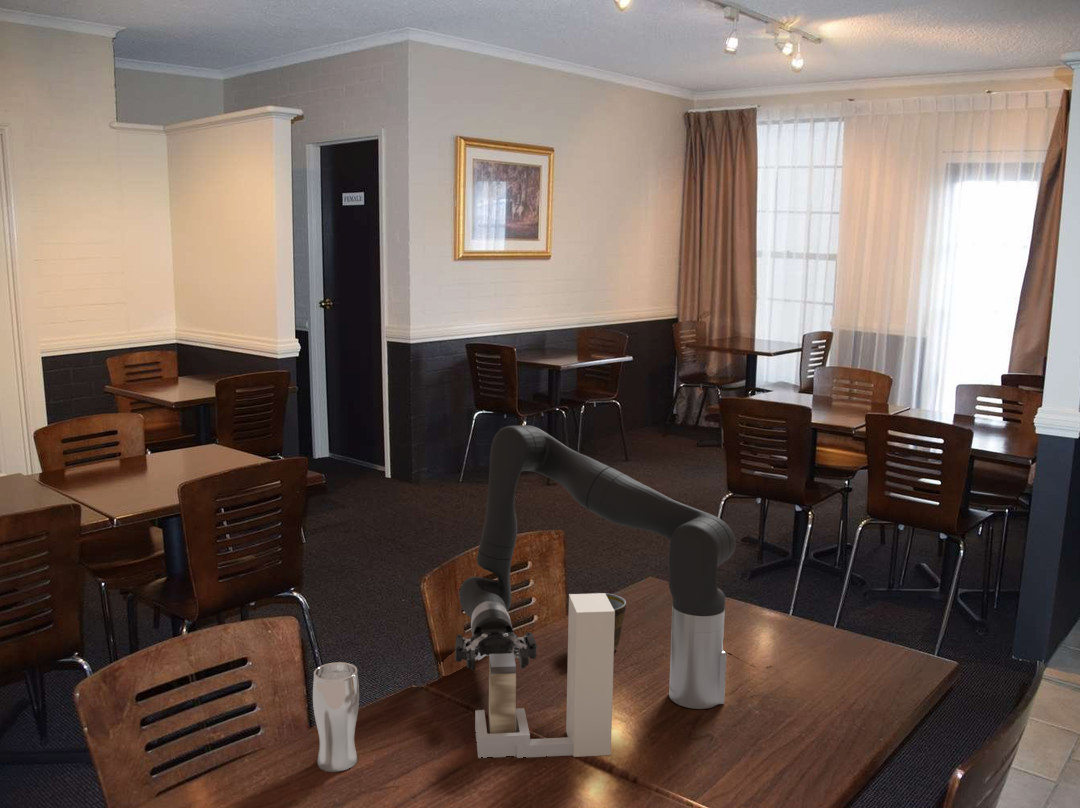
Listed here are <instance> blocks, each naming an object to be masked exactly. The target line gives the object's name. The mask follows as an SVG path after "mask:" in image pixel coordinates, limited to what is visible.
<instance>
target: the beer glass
mask: <svg viewBox="0 0 1080 808" xmlns="http://www.w3.org/2000/svg"><path fill="white" fill-rule="evenodd" d="M312 683H313V684H312V704H313V705H312V706H313V707H312V708H313V713H314V719H315V724H316V730H317V732H318V740H319V747H318V748H319V749H318V755H317V759H316V761H317V763H316V764H317V766H318V768H319V769H320V770H321V771H324V772H329V773H340V772H344V771H347V770H349V768H350V769H351V768H353V767H354V766H355V765H356V763H357V762H358V754H357V749H356V747H355V746H356V745H355V732H356V726H357V725H356V724H357V720H358V714H359V704H360V687H359V677H358V667H357V666H356V665H354V664H352V663H348V662H345V661H344V662H342V661H339V662H330V663H329V662H328V663H325V664H322V665H320V666H318V667H317V668H315V669H314V671H313V682H312Z"/></svg>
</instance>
